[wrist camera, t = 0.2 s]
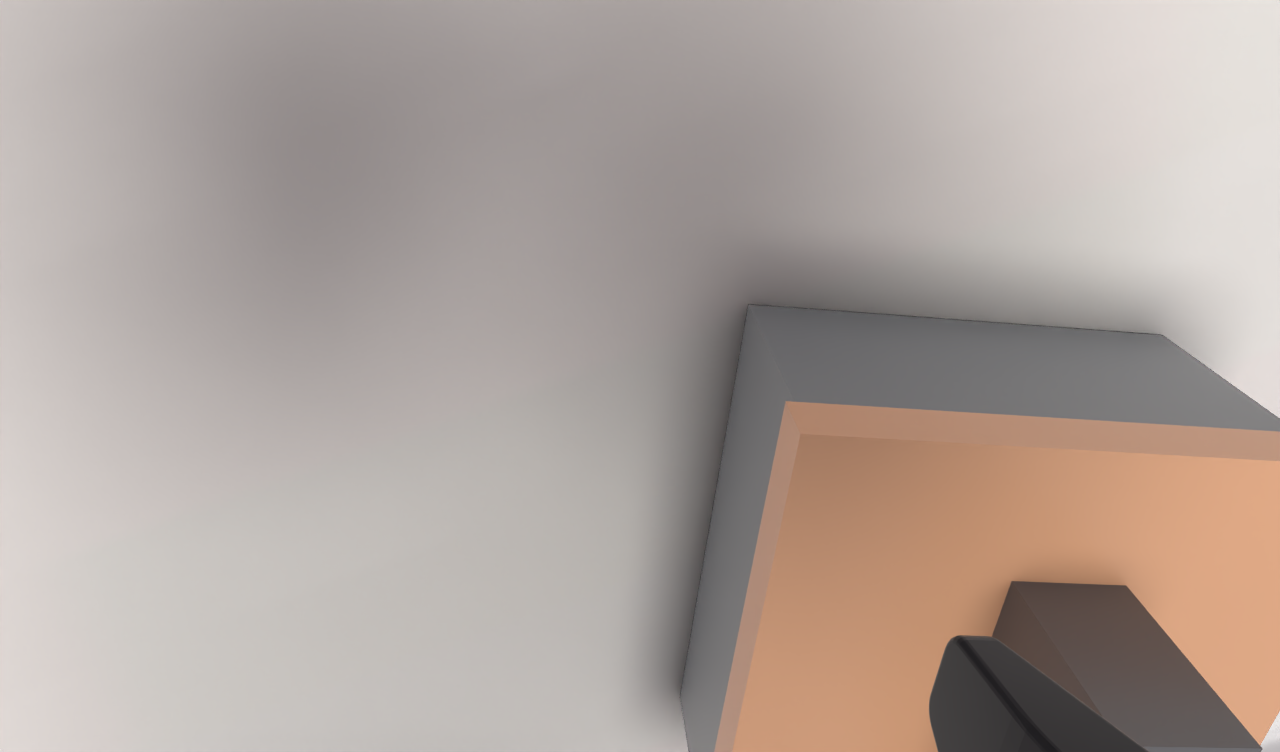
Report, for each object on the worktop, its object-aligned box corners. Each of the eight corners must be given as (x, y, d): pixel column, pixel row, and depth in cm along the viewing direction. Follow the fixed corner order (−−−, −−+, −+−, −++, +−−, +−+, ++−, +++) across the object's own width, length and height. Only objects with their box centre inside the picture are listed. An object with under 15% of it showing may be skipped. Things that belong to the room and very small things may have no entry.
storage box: (1017, 703, 30) (1117, 876, 25) (679, 696, 29) (708, 877, 23) (1162, 335, 24) (1333, 457, 19) (748, 304, 23) (806, 425, 18)
